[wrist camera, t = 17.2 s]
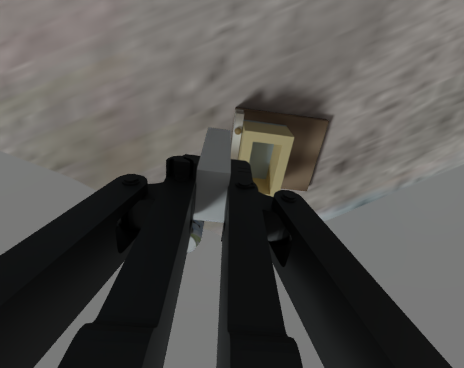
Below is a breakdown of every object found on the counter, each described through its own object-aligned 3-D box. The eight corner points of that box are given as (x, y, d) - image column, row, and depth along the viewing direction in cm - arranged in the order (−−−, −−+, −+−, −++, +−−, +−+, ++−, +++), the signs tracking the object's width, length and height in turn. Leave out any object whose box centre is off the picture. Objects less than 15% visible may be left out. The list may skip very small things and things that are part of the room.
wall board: (235, 107, 40) (236, 114, 36) (326, 119, 41) (337, 127, 37) (225, 179, 46) (225, 191, 42) (305, 188, 47) (312, 201, 43)
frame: (242, 119, 39) (244, 130, 34) (286, 125, 40) (294, 137, 35) (233, 180, 45) (233, 198, 39) (271, 184, 45) (276, 203, 40)
